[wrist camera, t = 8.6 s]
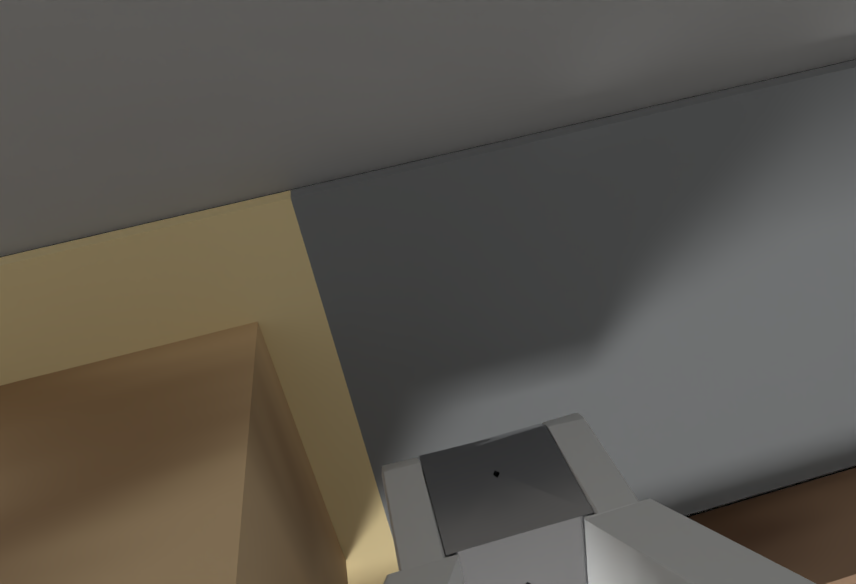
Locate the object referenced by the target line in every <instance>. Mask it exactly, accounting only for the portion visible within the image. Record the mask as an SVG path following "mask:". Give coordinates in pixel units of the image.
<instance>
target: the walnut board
mask: <svg viewBox="0 0 856 584" xmlns="http://www.w3.org/2000/svg"><path fill="white" fill-rule="evenodd" d="M687 518H689V519H691V520H693V521H695V522H697V523H699V524H701V525H703V526H705V527H707V528H709V529H711V530H713V531H715V532H717V533H719V534H721V535H723V536H724V537H726V538H728V539H730V540H732V541H734V542H736V543H738V544H740V545H742V546H744V547H746V548H748V549H750V550H752V551H754V552H756V553H758V554H760V555H761V556H763V557H765V558H767V559H769V560H771V561H773V562H775V563H777V564H779V565H781V566H783V567H785V568H787V569H789V570H791V571H793V572H795V573H797V574H798V575H800V576H802V577H804V578H806V579H808V580H810V581H812V582H814V583H816V584H856V468H853V469H849V470H846V471H842V472H839V473H836V474H832V475H829V476H826V477H822V478H819V479H815V480H812V481H809V482H805V483H802V484H799V485H795V486H792V487H788V488H785V489H782V490H778V491H775V492H772V493H768V494H765V495H761V496H758V497H755V498H751V499H748V500H745V501H741V502H738V503H734V504H731V505H728V506H724V507H721V508H718V509H714V510H711V511H707V512H704V513H701V514H697V515H694V516H691V517H687Z"/></svg>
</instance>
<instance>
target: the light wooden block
mask: <svg viewBox="0 0 856 584" xmlns="http://www.w3.org/2000/svg"><path fill="white" fill-rule="evenodd" d="M0 584H348V577H347V567H346V560H345V557H344V554H343V551H342V549H341V546H340V543H339V541H338V538H337V535H336V532H335V530H334V527H333V524H332V522H331V519H330V516H329V513H328V511H327V508H326V505H325V503H324V500H323V497H322V494H321V492H320V489H319V486H318V484H317V481H316V478H315V475H314V473H313V470H312V467H311V465H310V462H309V459H308V457H307V454H306V451H305V448H304V446H303V443H302V440H301V438H300V435H299V432H298V429H297V427H296V424H295V421H294V419H293V416H292V413H291V410H290V408H289V405H288V402H287V400H286V397H285V394H284V391H283V389H282V386H281V383H280V381H279V378H278V375H277V372H276V370H275V367H274V364H273V362H272V359H271V356H270V353H269V351H268V348H267V345H266V343H265V340H264V337H263V334H262V332H261V329H260V326H259V324H258V322H254V323H250V324H246V325H242V326H238V327H234V328H230V329H226V330H222V331H218V332H214V333H210V334H206V335H202V336H198V337H194V338H190V339H186V340H182V341H178V342H174V343H170V344H166V345H162V346H157V347H153V348H149V349H145V350H141V351H137V352H133V353H129V354H125V355H121V356H117V357H113V358H109V359H105V360H101V361H97V362H93V363H89V364H85V365H81V366H77V367H73V368H69V369H65V370H61V371H57V372H53V373H49V374H45V375H41V376H37V377H33V378H29V379H25V380H21V381H17V382H13V383H9V384H5V385H1V386H0Z"/></svg>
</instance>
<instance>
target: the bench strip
mask: <svg viewBox="0 0 856 584" xmlns="http://www.w3.org/2000/svg"><path fill="white" fill-rule="evenodd" d="M254 322H258V324H259V326H260V329H261V332H262V334H263V337H264V340H265V343H266V345H267V348H268V351H269V353H270V356H271V359H272V362H273V364H274V367H275V370H276V372H277V375H278V378H279V381H280V383H281V386H282V389H283V391H284V394H285V397H286V400H287V402H288V405H289V408H290V410H291V413H292V416H293V419H294V421H295V424H296V427H297V429H298V432H299V435H300V438H301V440H302V443H303V446H304V448H305V451H306V454H307V457H308V459H309V462H310V465H311V467H312V470H313V473H314V475H315V478H316V481H317V484H318V486H319V489H320V492H321V494H322V497H323V500H324V503H325V505H326V508H327V511H328V513H329V516H330V519H331V522H332V524H333V527H334V530H335V532H336V535H337V538H338V541H339V543H340V546H341V549H342V551H343V554H344V557H345V560H346V567H347V577H348V584H383V583H384V581H385V579H386V577H387V575H388V574H391V573H394V572H397V571H399V568H398V563H397V557H396V552H395V546H394V541H393V535H392V529H391V524H390V518H389V513H388V507H387V502H386V496H385V491H384V485H383V480H382V466H383V465H388V464H392V463H396V462H400V461H404V460H408V459H412V458H417V457H418V458H419V456H421V455H425V454H429V453H433V452H437V451H441V450H445V449H449V448H453V447H457V446H461V445H465V444H469V443H473V442H476V441H480V440H483V439H487V438H490V437H494V436H497V435H501V434H504V433H508V432H511V431H515V430H519V429H522V428H526V427H529V426H533V425H536V424H542V423H543V422H546V421H549V420H553V419H556V418H560V417H563V416H567V415H570V414H574V413H578V414H580V415H582V416H583V417H584V418H585V420H586V421H587V423H588V424H589V426H590V428H591V429H592V431H593V432H594V434H595V435H596V437H597V438H598V440H599V441H600V443H601V444H602V446H603V447H604V449H605V450H606V452H607V453H608V455H609V456H610V458H611V459H612V461H613V462H614V464H615V466H616V467H617V469H618V470H619V472H620V473H621V475H622V476H623V478H624V479H625V481H626V482H627V484H628V485H629V487H630V488H631V490H632V491H633V493H634V494H635V496H636V497H637V499H638V501H642V500H646V499H650V498H651V499H652V500H654V501H656V502H658V503H660V504H662V505H664V506H666V507H668V508H670V509H672V510H674V511H676V512H678V513H680V514H682V515H684V516H686V515H689V514H693V513H696V512H700V511H703V510H706V509H710V508H713V507H716V506H720V505H723V504H727V503H730V502H733V501H737V500H740V499H743V498H747V497H750V496H754V495H757V494H760V493H764V492H767V491H771V490H774V489H777V488H781V487H784V486H787V485H791V484H794V483H798V482H801V481H804V480H808V479H811V478H814V477H818V476H821V475H825V474H828V473H831V472H835V471H838V470H841V469H845V468H848V467H852V466H855V465H856V60H852V61H848V62H843V63H839V64H835V65H830V66H826V67H822V68H817V69H813V70H809V71H804V72H800V73H796V74H791V75H787V76H783V77H778V78H774V79H770V80H765V81H761V82H757V83H752V84H748V85H744V86H739V87H735V88H731V89H726V90H722V91H718V92H713V93H709V94H705V95H700V96H696V97H692V98H688V99H683V100H679V101H675V102H670V103H666V104H662V105H657V106H653V107H649V108H644V109H640V110H636V111H631V112H627V113H623V114H618V115H614V116H610V117H605V118H601V119H597V120H592V121H588V122H584V123H579V124H575V125H571V126H566V127H562V128H558V129H553V130H549V131H545V132H540V133H536V134H532V135H528V136H523V137H519V138H515V139H510V140H506V141H502V142H497V143H493V144H489V145H484V146H480V147H476V148H471V149H467V150H463V151H458V152H454V153H450V154H445V155H441V156H437V157H432V158H428V159H424V160H419V161H415V162H411V163H406V164H402V165H398V166H393V167H389V168H385V169H380V170H376V171H372V172H367V173H363V174H359V175H355V176H350V177H346V178H342V179H337V180H333V181H329V182H324V183H320V184H316V185H311V186H307V187H303V188H298V189H294V190H290V191H285V192H281V193H277V194H272V195H268V196H264V197H259V198H255V199H251V200H246V201H242V202H238V203H233V204H229V205H225V206H220V207H216V208H212V209H207V210H203V211H199V212H194V213H190V214H186V215H182V216H177V217H173V218H169V219H164V220H160V221H156V222H151V223H147V224H143V225H138V226H134V227H130V228H125V229H121V230H117V231H112V232H108V233H104V234H99V235H95V236H91V237H86V238H82V239H78V240H73V241H69V242H65V243H60V244H56V245H52V246H47V247H43V248H39V249H34V250H30V251H26V252H21V253H17V254H13V255H9V256H4V257H0V386H1V385H5V384H9V383H13V382H17V381H21V380H25V379H29V378H33V377H37V376H41V375H45V374H49V373H53V372H57V371H61V370H65V369H69V368H73V367H77V366H81V365H85V364H89V363H93V362H97V361H101V360H105V359H109V358H113V357H117V356H121V355H125V354H129V353H133V352H137V351H141V350H145V349H149V348H153V347H157V346H162V345H166V344H170V343H174V342H178V341H182V340H186V339H190V338H194V337H198V336H202V335H206V334H210V333H214V332H218V331H222V330H226V329H230V328H234V327H238V326H242V325H246V324H250V323H254ZM419 461H420V458H419ZM420 464H421V462H420ZM421 468H422V467H421Z"/></svg>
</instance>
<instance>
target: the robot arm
mask: <svg viewBox="0 0 856 584" xmlns="http://www.w3.org/2000/svg"><path fill="white" fill-rule="evenodd" d="M419 458H420V461H419ZM419 458H418V457H417V458H412V459H408V460H404V461H400V462H396V463H392V464H388V465H383V466H382V480H383V485H384V491H385V496H386V502H387V507H388V513H389V518H390V524H391V529H392V535H393V541H394V546H395V552H396V557H397V563H398V568H399V571H397V572H394V573H391V574H388V575H387V577H386V579H385V581H384V583H383V584H816V583H814V582H812V581H810V580H808V579H806V578H804V577H802V576H800V575H798V574H797V573H795V572H793V571H791V570H789V569H787V568H785V567H783V566H781V565H779V564H777V563H775V562H773V561H771V560H769V559H767V558H765V557H763V556H761V555H760V554H758V553H756V552H754V551H752V550H750V549H748V548H746V547H744V546H742V545H740V544H738V543H736V542H734V541H732V540H730V539H728V538H726V537H724V536H723V535H721V534H719V533H717V532H715V531H713V530H711V529H709V528H707V527H705V526H703V525H701V524H699V523H697V522H695V521H693V520H691V519H689V518H687V517H686V516H684V515H682V514H680V513H678V512H676V511H674V510H672V509H670V508H668V507H666V506H664V505H662V504H660V503H658V502H656V501H654V500H652V499H651V498H650V499H646V500H642V501H638V499H637V497H636V496H635V494H634V493H633V491H632V490H631V488H630V487H629V485H628V484H627V482H626V481H625V479H624V478H623V476H622V475H621V473H620V472H619V470H618V469H617V467H616V466H615V464H614V462H613V461H612V459H611V458H610V456H609V455H608V453H607V452H606V450H605V449H604V447H603V446H602V444H601V443H600V441H599V440H598V438H597V437H596V435H595V434H594V432H593V431H592V429H591V428H590V426H589V424H588V423H587V421H586V420H585V418H584V417H583V416H582V415H580V414H578V413H574V414H570V415H567V416H563V417H560V418H556V419H553V420H549V421H546V422H543V423H542V424H536V425H533V426H529V427H526V428H522V429H519V430H515V431H511V432H508V433H504V434H501V435H497V436H494V437H490V438H487V439H483V440H480V441H476V442H473V443H469V444H465V445H461V446H457V447H453V448H449V449H445V450H441V451H437V452H433V453H429V454H425V455H421V456H419ZM420 462H421V464H420ZM421 467H422V468H421Z"/></svg>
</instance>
